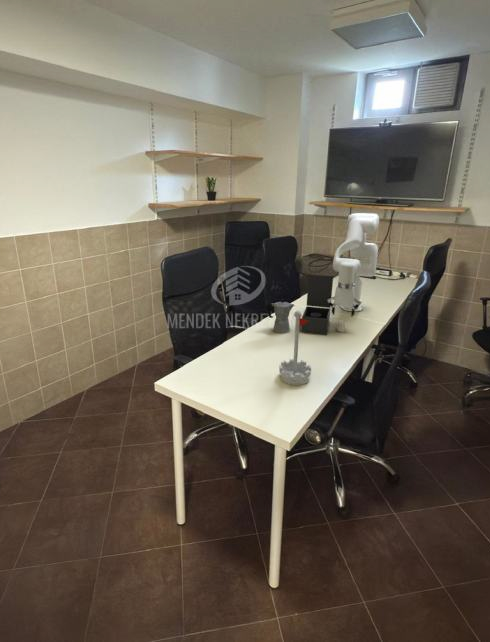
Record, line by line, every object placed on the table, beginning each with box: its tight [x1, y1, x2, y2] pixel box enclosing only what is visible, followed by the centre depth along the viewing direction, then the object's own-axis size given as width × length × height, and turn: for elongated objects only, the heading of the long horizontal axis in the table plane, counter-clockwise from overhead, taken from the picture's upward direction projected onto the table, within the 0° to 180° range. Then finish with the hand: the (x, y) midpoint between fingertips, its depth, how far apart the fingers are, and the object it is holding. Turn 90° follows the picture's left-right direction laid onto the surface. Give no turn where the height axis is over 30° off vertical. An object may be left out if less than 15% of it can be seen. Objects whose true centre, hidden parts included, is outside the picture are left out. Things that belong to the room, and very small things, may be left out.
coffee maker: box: [300, 305, 331, 336], centre depth 199 cm, size 18×14×9 cm
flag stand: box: [278, 310, 312, 386], centre depth 145 cm, size 13×13×30 cm
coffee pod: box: [336, 319, 347, 333], centre depth 196 cm, size 4×4×5 cm
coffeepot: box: [265, 298, 296, 334], centre depth 195 cm, size 15×9×18 cm, turn 92°
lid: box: [306, 273, 334, 309], centre depth 206 cm, size 18×14×5 cm
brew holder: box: [310, 312, 322, 318], centre depth 196 cm, size 6×6×9 cm
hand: (342, 315), depth 195 cm, fingers open, 9 cm apart
